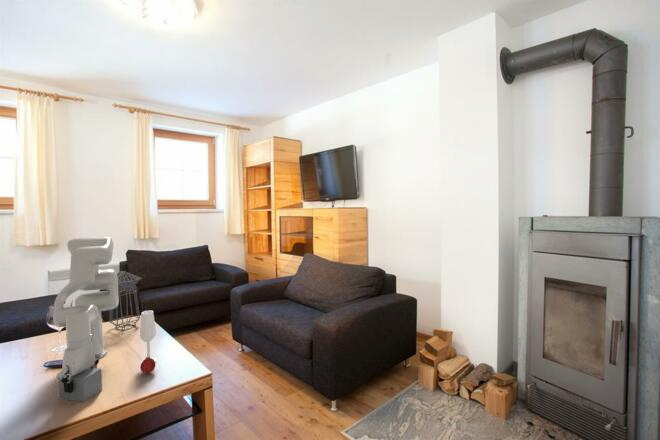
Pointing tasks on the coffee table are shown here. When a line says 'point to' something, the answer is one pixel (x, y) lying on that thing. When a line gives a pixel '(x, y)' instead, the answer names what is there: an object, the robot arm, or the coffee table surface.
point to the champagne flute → (147, 329)
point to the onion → (147, 365)
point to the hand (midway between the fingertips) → (80, 385)
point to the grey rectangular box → (83, 385)
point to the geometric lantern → (126, 300)
